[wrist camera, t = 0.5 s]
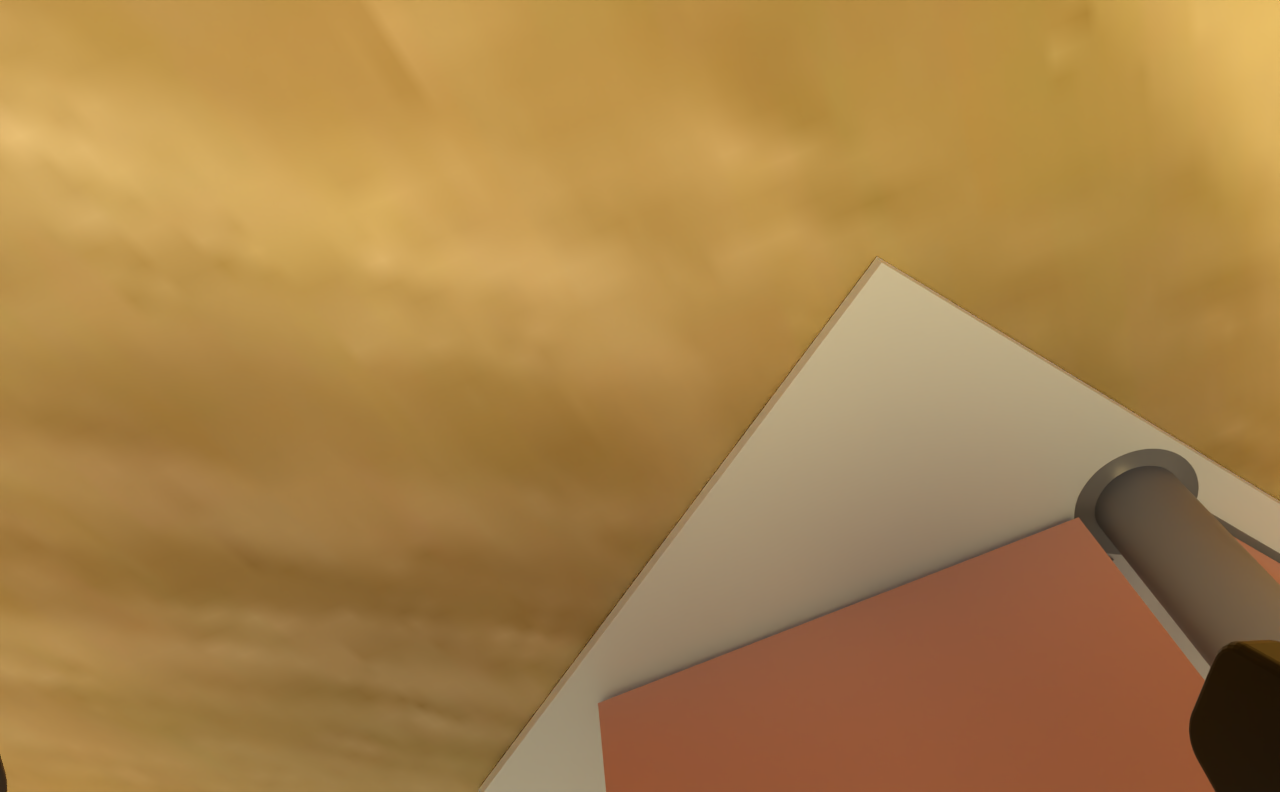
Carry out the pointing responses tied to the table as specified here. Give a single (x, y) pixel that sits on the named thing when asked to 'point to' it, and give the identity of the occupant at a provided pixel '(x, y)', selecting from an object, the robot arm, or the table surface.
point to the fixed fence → (1191, 560)
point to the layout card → (869, 502)
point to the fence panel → (933, 691)
